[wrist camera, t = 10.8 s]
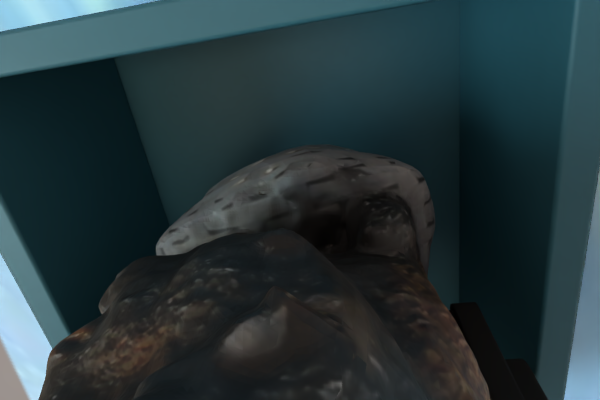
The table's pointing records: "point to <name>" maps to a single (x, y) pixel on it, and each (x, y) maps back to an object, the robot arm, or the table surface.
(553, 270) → the bin
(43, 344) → the table surface
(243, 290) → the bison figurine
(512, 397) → the robot arm
